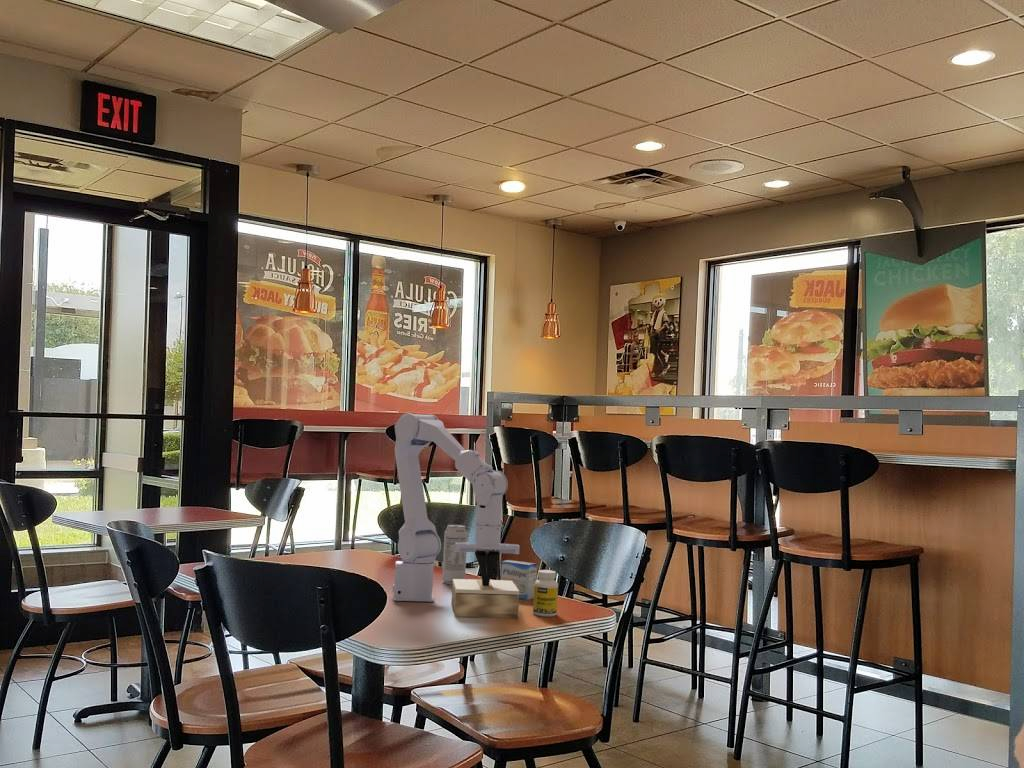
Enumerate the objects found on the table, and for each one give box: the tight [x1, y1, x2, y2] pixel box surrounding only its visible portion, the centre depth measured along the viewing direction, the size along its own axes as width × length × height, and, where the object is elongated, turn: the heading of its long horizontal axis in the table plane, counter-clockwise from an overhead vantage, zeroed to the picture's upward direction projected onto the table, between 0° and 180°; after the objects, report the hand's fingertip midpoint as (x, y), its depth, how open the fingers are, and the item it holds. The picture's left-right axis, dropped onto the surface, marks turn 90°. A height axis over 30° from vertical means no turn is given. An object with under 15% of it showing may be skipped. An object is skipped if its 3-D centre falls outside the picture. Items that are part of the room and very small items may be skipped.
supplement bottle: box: [532, 569, 559, 617], centre depth 214 cm, size 5×5×10 cm
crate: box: [450, 582, 520, 619], centre depth 215 cm, size 14×14×5 cm
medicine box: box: [500, 559, 538, 601], centre depth 234 cm, size 8×4×9 cm, turn 62°
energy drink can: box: [441, 524, 468, 585], centre depth 249 cm, size 6×6×15 cm
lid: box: [453, 578, 519, 595], centre depth 215 cm, size 14×14×1 cm
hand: (485, 584), depth 214 cm, fingers closed
